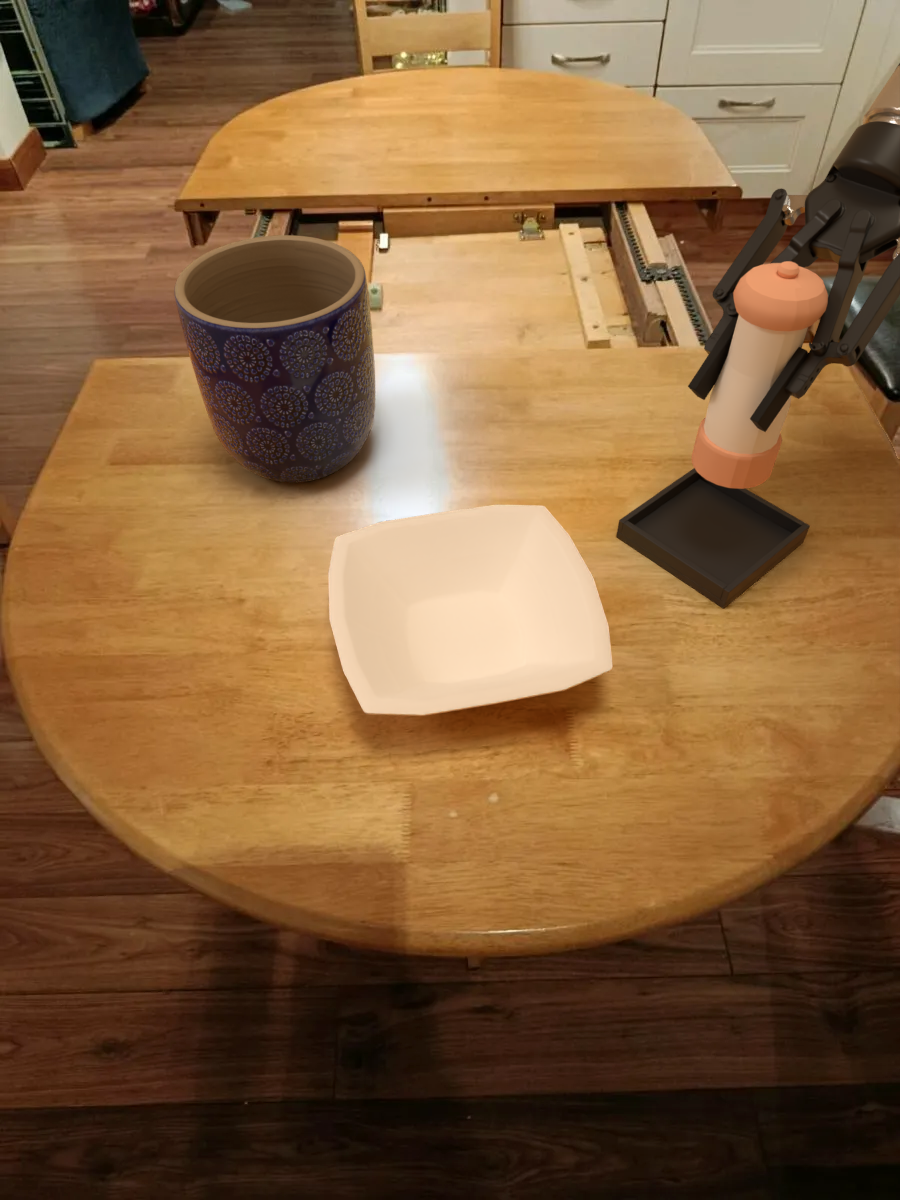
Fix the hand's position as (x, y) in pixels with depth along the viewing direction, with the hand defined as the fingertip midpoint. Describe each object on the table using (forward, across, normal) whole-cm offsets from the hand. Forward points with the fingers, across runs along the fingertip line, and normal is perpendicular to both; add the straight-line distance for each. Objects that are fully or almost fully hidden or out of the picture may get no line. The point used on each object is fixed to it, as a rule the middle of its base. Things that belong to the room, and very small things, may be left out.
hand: (726, 408), depth 71 cm
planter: (+26, +40, 0) cm, 47 cm away
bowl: (+29, +7, +4) cm, 30 cm away
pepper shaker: (+3, 0, -8) cm, 9 cm away
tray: (+10, 0, -15) cm, 18 cm away
